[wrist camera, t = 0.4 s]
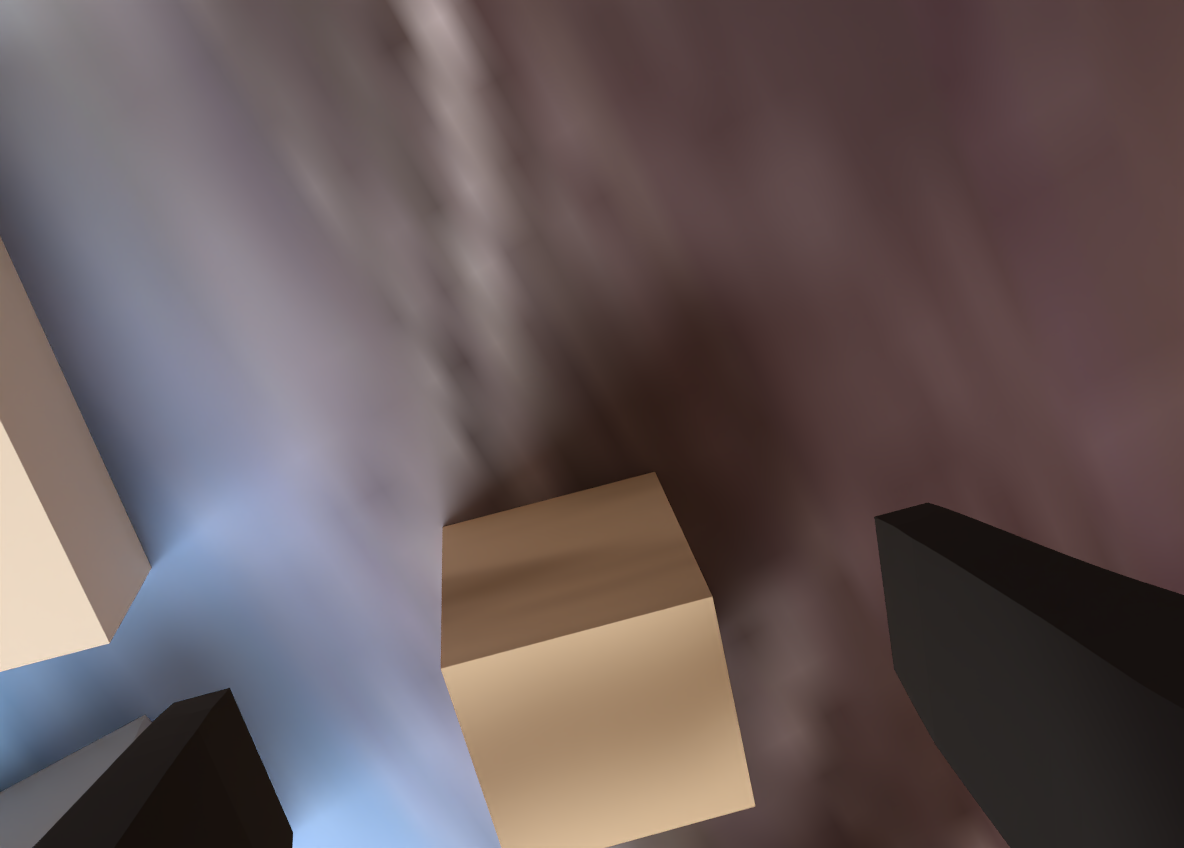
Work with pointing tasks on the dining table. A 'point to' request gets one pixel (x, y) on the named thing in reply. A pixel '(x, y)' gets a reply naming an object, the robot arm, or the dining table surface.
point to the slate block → (59, 787)
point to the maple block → (589, 670)
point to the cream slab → (54, 504)
